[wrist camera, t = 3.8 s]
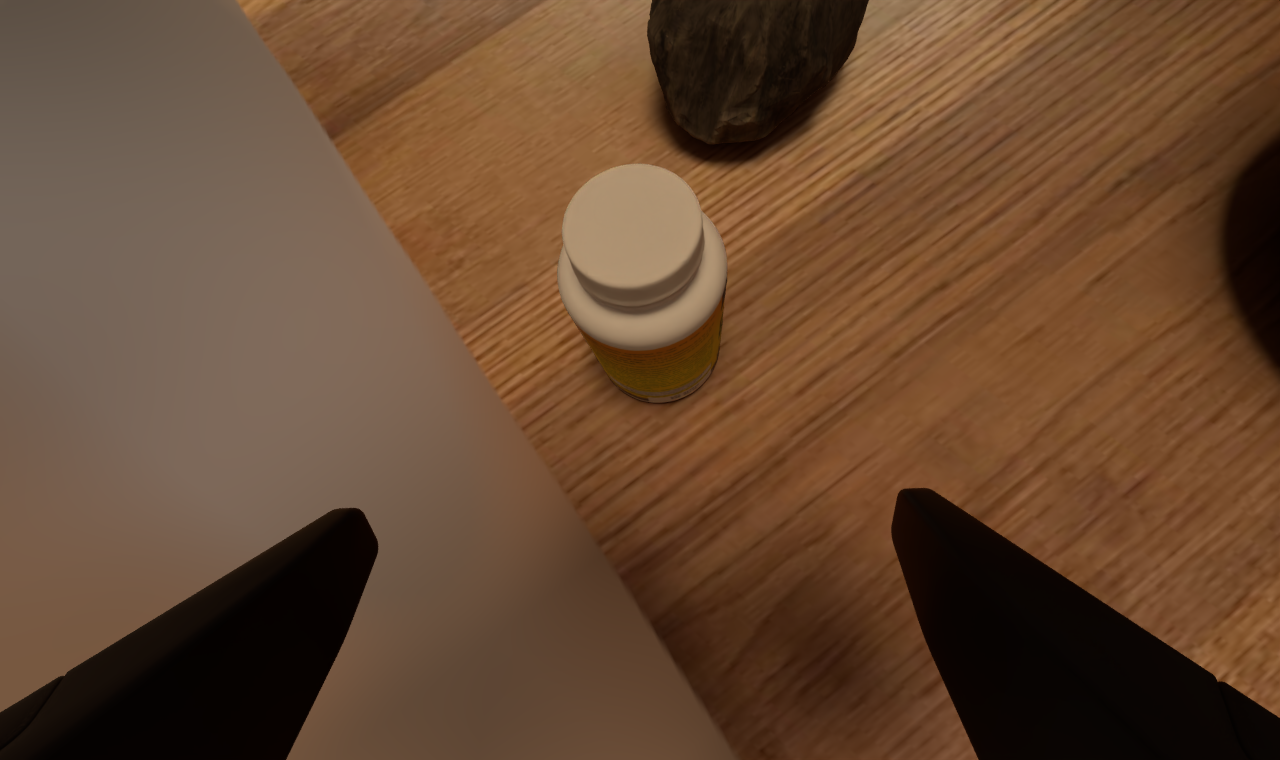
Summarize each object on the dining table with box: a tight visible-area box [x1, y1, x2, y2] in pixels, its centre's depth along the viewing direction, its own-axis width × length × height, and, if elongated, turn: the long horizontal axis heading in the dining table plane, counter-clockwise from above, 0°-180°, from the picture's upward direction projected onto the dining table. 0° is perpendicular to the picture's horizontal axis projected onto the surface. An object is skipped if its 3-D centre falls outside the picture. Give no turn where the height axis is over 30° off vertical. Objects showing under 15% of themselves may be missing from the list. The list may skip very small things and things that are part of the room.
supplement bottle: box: [557, 164, 727, 403], centre depth 18 cm, size 6×6×10 cm
